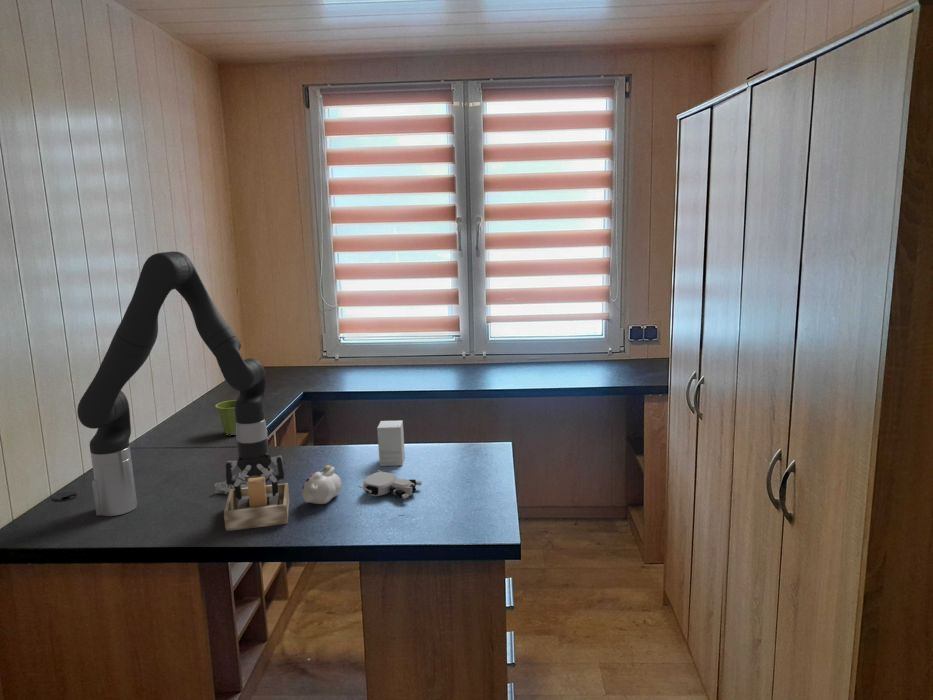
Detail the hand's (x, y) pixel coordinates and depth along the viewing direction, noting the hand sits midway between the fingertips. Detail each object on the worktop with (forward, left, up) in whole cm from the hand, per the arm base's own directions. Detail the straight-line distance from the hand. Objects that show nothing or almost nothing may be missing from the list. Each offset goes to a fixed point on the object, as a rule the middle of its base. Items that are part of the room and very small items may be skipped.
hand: (257, 496), depth 174 cm
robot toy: (+35, +4, -5) cm, 36 cm away
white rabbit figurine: (+16, +4, -5) cm, 18 cm away
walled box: (0, 0, -5) cm, 5 cm away
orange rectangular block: (0, 0, -4) cm, 5 cm away
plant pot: (-13, +74, -5) cm, 76 cm away
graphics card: (-4, +22, -6) cm, 23 cm away
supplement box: (+38, +28, -5) cm, 48 cm away
